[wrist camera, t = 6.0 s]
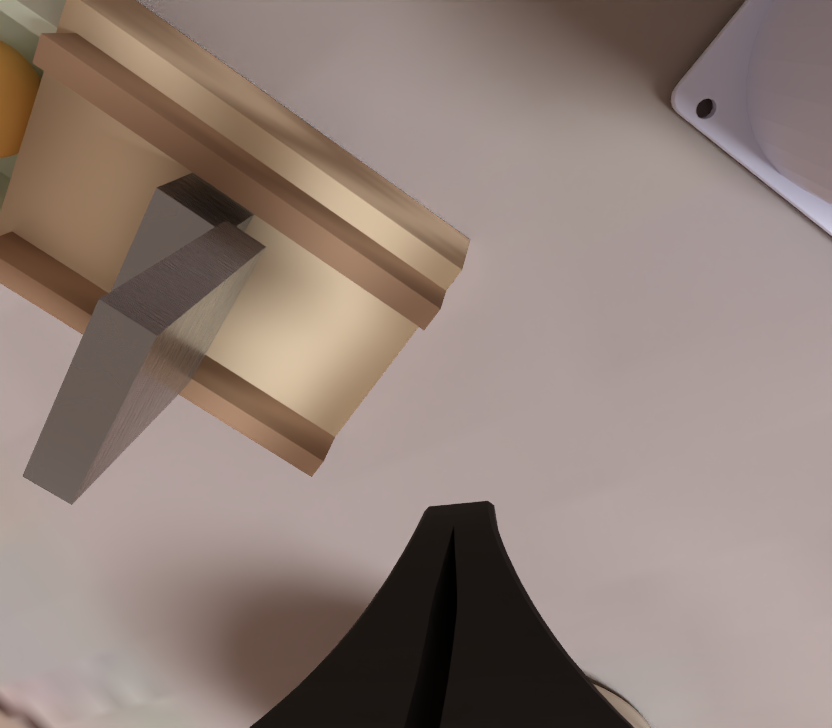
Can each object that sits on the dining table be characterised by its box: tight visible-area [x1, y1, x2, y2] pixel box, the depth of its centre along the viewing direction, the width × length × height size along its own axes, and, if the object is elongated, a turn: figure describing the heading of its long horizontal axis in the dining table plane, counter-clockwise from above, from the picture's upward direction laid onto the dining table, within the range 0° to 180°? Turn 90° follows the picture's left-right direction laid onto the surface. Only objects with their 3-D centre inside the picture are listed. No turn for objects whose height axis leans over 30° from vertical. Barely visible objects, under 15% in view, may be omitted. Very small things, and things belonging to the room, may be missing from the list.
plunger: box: [23, 173, 266, 505], centre depth 16 cm, size 3×5×7 cm, turn 146°
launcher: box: [0, 0, 470, 477], centre depth 20 cm, size 12×9×4 cm
